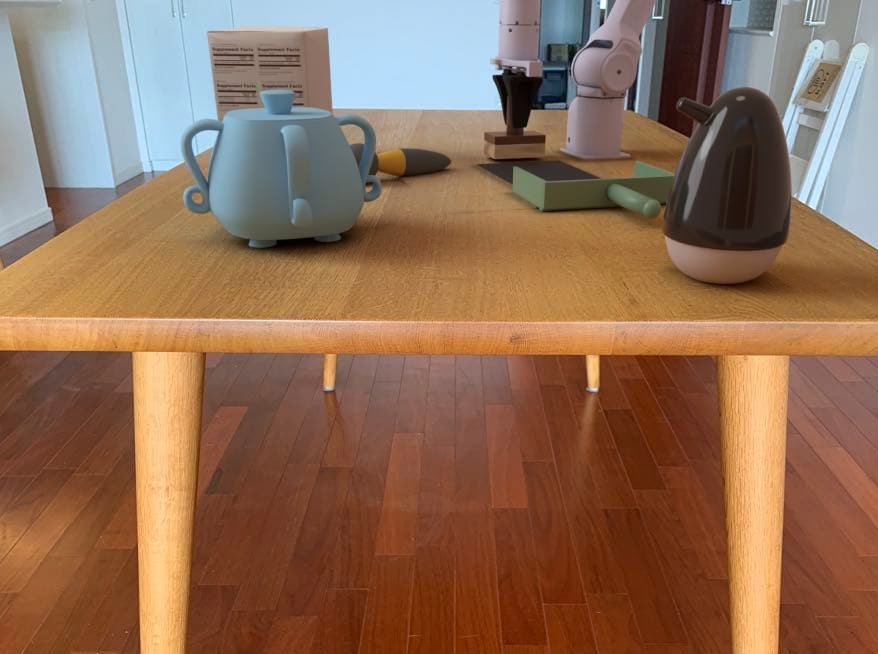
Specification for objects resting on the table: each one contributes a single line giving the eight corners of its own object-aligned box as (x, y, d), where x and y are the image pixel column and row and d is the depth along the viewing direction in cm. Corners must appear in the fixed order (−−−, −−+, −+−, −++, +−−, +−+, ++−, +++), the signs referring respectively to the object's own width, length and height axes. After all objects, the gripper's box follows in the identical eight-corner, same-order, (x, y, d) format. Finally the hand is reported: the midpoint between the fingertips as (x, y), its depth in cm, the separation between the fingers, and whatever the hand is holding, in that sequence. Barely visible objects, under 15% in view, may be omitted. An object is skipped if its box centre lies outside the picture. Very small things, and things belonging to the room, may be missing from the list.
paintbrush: (432, 166, 117) (432, 130, 115) (456, 171, 114) (456, 134, 111) (319, 185, 104) (316, 144, 102) (341, 190, 101) (339, 149, 99)
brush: (483, 153, 123) (484, 95, 119) (532, 152, 125) (535, 94, 121) (494, 159, 118) (496, 98, 115) (544, 157, 121) (548, 97, 117)
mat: (476, 166, 118) (476, 164, 118) (558, 162, 121) (559, 160, 121) (518, 190, 102) (518, 187, 102) (611, 185, 106) (612, 182, 105)
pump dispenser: (640, 259, 74) (660, 81, 67) (751, 258, 75) (781, 81, 68) (675, 294, 65) (701, 92, 58) (800, 293, 65) (841, 92, 59)
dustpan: (512, 193, 100) (513, 166, 99) (636, 187, 104) (638, 160, 103) (579, 233, 82) (581, 201, 81) (725, 223, 87) (729, 192, 85)
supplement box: (253, 152, 127) (240, 26, 120) (337, 153, 127) (329, 27, 119) (220, 172, 112) (202, 28, 104) (315, 173, 112) (305, 29, 104)
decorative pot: (170, 240, 79) (147, 92, 73) (283, 208, 92) (271, 80, 86) (296, 265, 72) (281, 103, 66) (400, 227, 84) (396, 87, 78)
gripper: (476, 24, 119) (475, 120, 125) (509, 25, 107) (506, 133, 113) (521, 24, 121) (518, 119, 127) (559, 26, 108) (553, 131, 114)
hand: (515, 126), depth 120 cm, fingers closed on brush, 2 cm apart
